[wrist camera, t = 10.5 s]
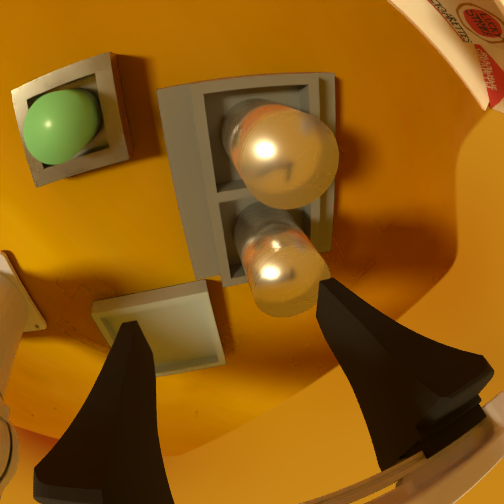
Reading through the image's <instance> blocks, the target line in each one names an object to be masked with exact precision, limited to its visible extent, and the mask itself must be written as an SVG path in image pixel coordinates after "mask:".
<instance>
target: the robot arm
mask: <svg viewBox="0 0 504 504" xmlns="http://www.w3.org/2000/svg"><path fill="white" fill-rule="evenodd" d="M316 318H317V320H318V323H319V325H320V328H321V330H322V333H323V335H324V337H325V339H326V341H327V343H328V345H329V346H330V348H331V350H332V352H333V353H334V355H335V357H336V359H337V360H338V362H339V364H340V366H341V367H342V369H343V371H344V373H345V374H346V376H347V378H348V380H349V382H350V384H351V386H352V388H353V390H354V393H355V395H356V398H357V400H358V403H359V405H360V408H361V410H362V413H363V416H364V419H365V421H366V424H367V427H368V430H369V433H370V436H371V439H372V443H373V446H374V450H375V453H376V457H377V461H378V464H379V467H380V469H381V471H382V472H380V473H378V474H376V475H374V476H372V477H370V478H367V479H365V480H363V481H360V482H358V483H356V484H353V485H351V486H348V487H346V488H343V489H341V490H338V491H336V492H333V493H330V494H327V495H325V496H322V497H319V498H316V499H313V500H310V501H306V502H304V503H300V504H349V503H352V502H354V501H357V500H359V499H361V498H364V497H366V496H368V495H370V494H373V493H375V492H377V491H379V490H381V489H383V488H385V487H387V486H389V485H391V484H393V483H395V482H397V481H398V482H397V483H396V487H395V489H393V490H391V491H389V492H388V493H385V494H383V495H381V496H379V497H377V498H375V499H373V500H371V501H369V502H367V503H365V504H454V503H455V502H457V501H458V500H459V499H460V498H461V497H462V496H464V495H465V494H466V493H467V492H468V491H469V490H470V489H472V488H473V487H474V486H475V485H476V484H477V483H478V482H479V481H480V480H481V479H482V478H483V477H484V476H485V475H487V474H488V473H489V472H490V470H491V469H492V468H494V466H495V465H496V464H497V463H498V462H499V461H500V460H501V459H502V458H503V457H504V392H503V391H501V392H500V393H499V394H497V395H496V396H495V397H494V398H493V399H491V400H490V401H489V402H488V403H487V404H485V405H484V406H483V407H482V408H481V406H480V405H479V403H480V402H481V398H480V397H479V395H478V394H479V393H480V391H481V390H482V389H483V388H484V387H485V386H486V385H487V383H488V382H489V381H490V380H491V378H492V377H493V375H494V370H493V368H492V367H491V366H490V364H489V363H488V362H487V360H486V359H485V358H484V357H483V355H478V354H474V353H470V352H466V351H462V350H459V349H456V348H453V347H450V346H447V345H444V344H441V343H439V342H436V341H434V340H431V339H429V338H427V337H424V336H422V335H420V334H418V333H416V332H414V331H412V330H410V329H408V328H406V327H404V326H403V325H401V324H399V323H397V322H396V321H394V320H392V319H391V318H389V317H388V316H386V315H384V314H383V313H381V312H380V311H378V310H377V309H375V308H374V307H372V306H371V305H370V304H368V303H367V302H365V301H364V300H363V299H361V298H360V297H358V296H357V295H356V294H354V293H353V292H352V291H350V290H349V289H348V288H346V287H345V286H344V285H342V284H341V283H340V282H338V281H337V280H336V279H334V278H329V279H325V280H321V281H319V288H318V300H317V311H316ZM46 327H47V323H46V321H45V320H44V318H43V317H42V315H41V314H40V312H39V311H38V309H37V307H36V306H35V304H34V303H33V301H32V299H31V298H30V296H29V294H28V293H27V291H26V289H25V288H24V286H23V284H22V282H21V281H20V279H19V277H18V275H17V273H16V272H15V270H14V268H13V266H12V264H11V262H10V260H9V258H8V256H7V255H6V253H4V252H2V251H1V252H0V498H1V495H2V492H3V491H4V489H5V487H6V486H7V485H8V484H9V482H10V481H11V480H12V478H13V477H14V475H15V473H16V470H17V467H18V462H19V442H18V436H17V433H16V430H15V428H14V426H13V424H12V423H11V422H10V421H9V420H8V417H9V412H10V407H8V406H7V405H6V404H5V403H4V402H3V400H4V395H5V391H6V387H7V383H8V379H9V376H10V372H11V369H12V365H13V362H14V358H15V355H16V352H17V349H18V346H19V343H20V340H21V337H22V334H23V332H30V331H37V330H44V329H46ZM33 485H34V486H33V497H34V499H35V500H36V501H37V502H39V503H41V504H174V501H173V498H172V495H171V491H170V488H169V484H168V480H167V476H166V472H165V468H164V464H163V459H162V454H161V449H160V443H159V437H158V430H157V411H156V374H155V365H154V357H153V352H152V350H151V348H150V346H149V344H148V342H147V340H146V338H145V336H144V334H143V332H142V330H141V328H140V326H139V324H138V322H137V320H135V321H129V322H123V323H122V324H121V326H120V328H119V330H118V333H117V335H116V338H115V340H114V342H113V345H112V347H111V349H110V352H109V354H108V356H107V358H106V361H105V363H104V365H103V367H102V370H101V372H100V374H99V376H98V378H97V380H96V382H95V384H94V386H93V388H92V390H91V392H90V394H89V395H88V397H87V399H86V401H85V403H84V404H83V406H82V408H81V409H80V411H79V412H78V414H77V416H76V417H75V419H74V420H73V422H72V423H71V425H70V426H69V428H68V429H67V430H66V432H65V433H64V434H63V436H62V437H61V438H60V440H59V441H58V442H57V443H56V445H55V446H54V447H53V449H52V450H51V451H50V452H49V453H48V454H47V455H46V456H45V457H44V458H43V459H42V460H41V461H40V462H39V463H38V464H37V465H36V466H35V468H34V483H33Z"/></svg>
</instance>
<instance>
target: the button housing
mask: <svg viewBox="0 0 504 504" xmlns="http://www.w3.org/2000/svg"><path fill="white" fill-rule="evenodd" d="M70 88H81V89H85V90H87V91H89V92H90V93H91V94H92V95H94V97H95V98H96V99H97V101H98V103H99V105H100V108H101V124H100V128H99V130H98V132H97V134H96V136H95V137H94V138H93V140H92V141H91V142H90V143H88V144H87V145H86V146H85V147H84V148H83V149H82V150H81V151H80V152H78V153H77V154H76V155H75V156H74V157H73V158H72V159H70V160H68V161H67V162H64V163H62V164H57V165H50V164H45V163H42V162H40V161H39V160H37V159H36V158H35V157H33V156H32V154H31V153H30V152H29V150H28V149H27V146H26V144H25V141H24V136H23V126H24V121H25V117H26V115H27V112H28V111H29V109H30V107H31V106H32V105H33V103H34V102H35V101H36V100H38V99H39V98H40V97H42V96H43V95H45V94H48V93H51V92H55V91H60V90H65V89H70ZM11 93H12V99H13V104H14V109H15V114H16V118H17V123H18V127H19V131H20V135H21V139H22V143H23V147H24V150H25V154H26V157H27V161H28V164H29V167H30V171H31V174H32V177H33V180H34V183H35V186H36V188H37V187H40V186H43V185H46V184H49V183H51V182H54V181H57V180H60V179H63V178H67V177H70V176H73V175H76V174H79V173H82V172H86V171H89V170H93V169H96V168H100V167H103V166H107V165H110V164H114V163H118V162H122V161H125V160H129V159H130V157H131V155H132V154H133V152H134V147H133V142H132V138H131V133H130V128H129V123H128V118H127V113H126V107H125V102H124V96H123V91H122V85H121V78H120V72H119V65H118V58H117V54H115V53H112V52H107V53H104V54H100V55H97V56H94V57H91V58H88V59H85V60H82V61H79V62H77V63H74V64H71V65H68V66H66V67H63V68H61V69H58V70H56V71H53V72H51V73H49V74H46V75H44V76H42V77H39V78H37V79H35V80H33V81H31V82H28V83H26V84H24V85H22V86H20V87H18V88H16V89H14V90H12V91H11Z"/></svg>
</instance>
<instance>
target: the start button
mask: <svg viewBox="0 0 504 504" xmlns="http://www.w3.org/2000/svg"><path fill="white" fill-rule="evenodd" d="M100 124H101V108H100V105H99V103H98V101H97V99H96V98H95V97H94V95H92V94H91V93H90V92H89V91H87V90H85V89H81V88H70V89H65V90H60V91H55V92H51V93H48V94H45V95H43V96H42V97H40V98H39V99H38V100H36V101H35V102H34V103H33V105H32V106H31V107H30V109H29V111H28V112H27V115H26V117H25V121H24V126H23V136H24V141H25V144H26V146H27V149H28V150H29V152H30V153H31V154H32V156H33V157H35V158H36V159H37V160H39V161H40V162H42V163H45V164H50V165H57V164H62V163H64V162H67V161H68V160H70V159H72V158H73V157H74V156H75V155H76V154H77V153H78V152H80V151H81V150H82V149H83V148H84V147H85V146H86V145H87V144H88V143H90V142H91V141H92V140H93V138H94V137H95V136H96V134H97V132H98V130H99V128H100Z"/></svg>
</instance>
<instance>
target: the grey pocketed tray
mask: <svg viewBox="0 0 504 504" xmlns="http://www.w3.org/2000/svg"><path fill="white" fill-rule="evenodd" d="M156 91H157V97H158V103H159V109H160V115H161V121H162V127H163V132H164V138H165V143H166V148H167V154H168V159H169V164H170V169H171V174H172V179H173V184H174V188H175V193H176V198H177V202H178V207H179V211H180V216H181V220H182V225H183V229H184V233H185V237H186V242H187V246H188V250H189V254H190V258H191V262H192V266H193V270H194V274H195V278H196V280H197V279H201V278H206V277H211V276H216V275H220V277H221V281H222V285H223V288H224V287H228V286H233V285H238V284H242V283H247V282H248V280H247V277H246V274H245V271H244V268H243V265H242V263H241V260H240V257H239V254H238V251H237V248H236V245H235V242H234V240H233V236H232V227H233V223H234V221H235V219H236V217H237V215H238V214H239V213H240V212H241V211H242V210H243V209H244V208H245V207H247V206H248V205H250V204H252V203H255V202H258V201H259V200H258V199H256V198H255V197H254V196H253V195H252V194H251V192H250V191H249V189H248V188H247V186H246V184H245V183H244V181H243V179H242V178H241V176H240V174H239V173H238V171H237V169H236V168H235V166H234V165H233V163H232V161H231V160H230V158H229V156H228V155H227V153H226V151H225V150H224V148H223V146H222V143H221V139H220V128H221V123H222V121H223V118H224V117H225V115H226V113H227V112H228V111H229V110H230V109H231V108H232V107H233V106H234V105H236V104H237V103H239V102H241V101H243V100H246V99H251V98H262V99H267V100H270V101H273V102H276V103H279V104H282V105H285V106H287V107H290V108H293V109H296V110H299V111H301V112H304V113H307V114H309V115H312V116H314V117H316V118H318V119H319V120H321V121H322V122H323V123H325V124H326V125H327V126H328V127H329V129H330V130H331V131H332V133H333V135H334V137H335V139H336V112H335V76H334V73H327V72H297V73H273V74H258V75H246V76H236V77H227V78H219V79H212V80H205V81H199V82H192V83H187V84H181V85H176V86H170V87H165V88H161V89H157V90H156ZM334 191H335V177H334V179H333V181H332V183H331V185H330V186H329V187H328V189H327V190H326V191H325V192H324V193H323V194H322V195H321V196H320V197H319V198H318V199H316V200H315V201H313V202H311V203H309V204H307V205H305V206H303V207H299V208H295V209H287V210H288V212H289V213H290V214H291V216H292V217H293V218H294V220H295V221H296V222H297V224H298V225H299V226H300V228H301V229H302V231H303V232H304V233H305V235H306V236H307V237H308V239H309V240H310V242H311V243H312V244H313V246H314V247H315V248H316V250H317V251H318V253H323V252H327V251H331V245H332V231H333V213H334Z"/></svg>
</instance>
